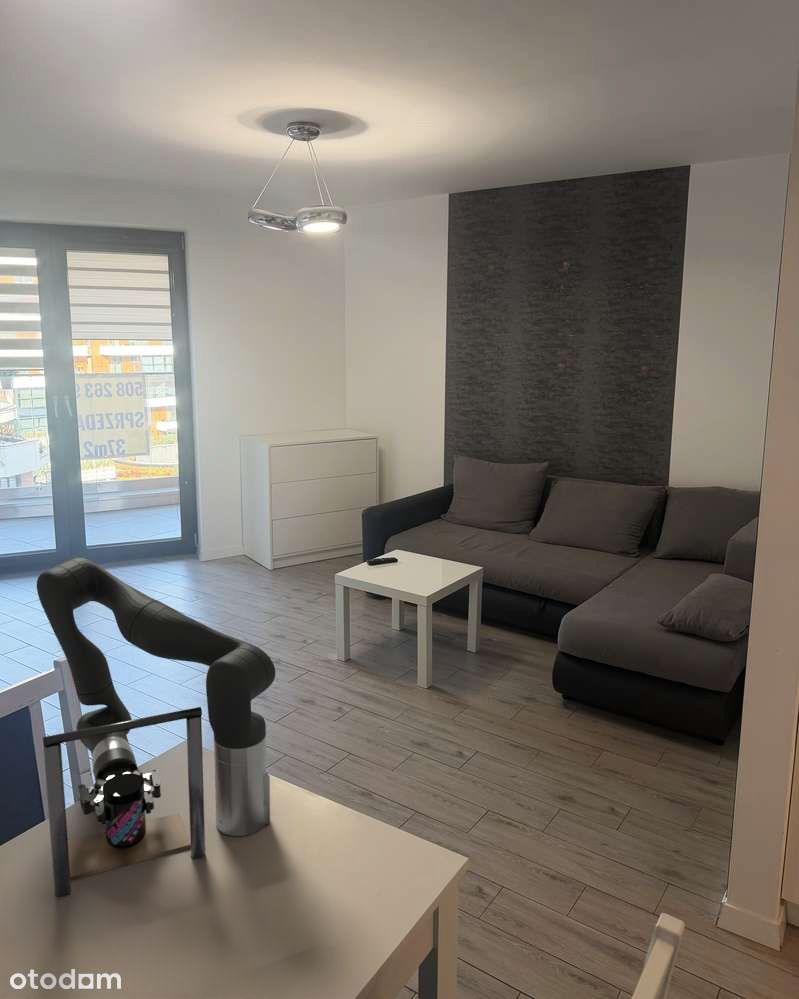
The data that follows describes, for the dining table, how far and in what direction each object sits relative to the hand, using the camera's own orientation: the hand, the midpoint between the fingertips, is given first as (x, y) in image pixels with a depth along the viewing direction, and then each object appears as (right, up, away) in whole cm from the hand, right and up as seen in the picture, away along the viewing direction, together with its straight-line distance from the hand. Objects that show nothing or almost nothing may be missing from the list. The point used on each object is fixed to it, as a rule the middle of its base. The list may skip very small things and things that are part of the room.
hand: (126, 814), depth 128 cm
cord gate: (+2, -9, -3) cm, 9 cm away
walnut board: (-1, -7, +3) cm, 8 cm away
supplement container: (-1, -6, +3) cm, 7 cm away
